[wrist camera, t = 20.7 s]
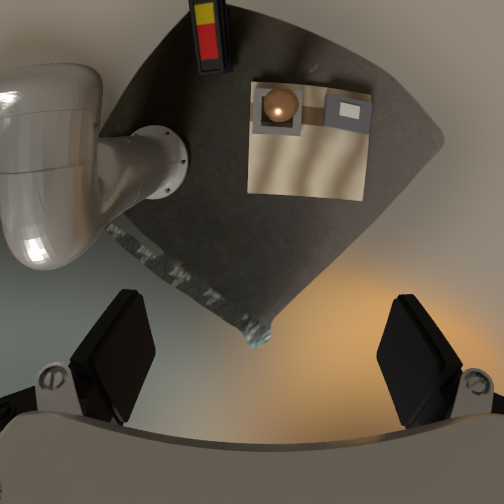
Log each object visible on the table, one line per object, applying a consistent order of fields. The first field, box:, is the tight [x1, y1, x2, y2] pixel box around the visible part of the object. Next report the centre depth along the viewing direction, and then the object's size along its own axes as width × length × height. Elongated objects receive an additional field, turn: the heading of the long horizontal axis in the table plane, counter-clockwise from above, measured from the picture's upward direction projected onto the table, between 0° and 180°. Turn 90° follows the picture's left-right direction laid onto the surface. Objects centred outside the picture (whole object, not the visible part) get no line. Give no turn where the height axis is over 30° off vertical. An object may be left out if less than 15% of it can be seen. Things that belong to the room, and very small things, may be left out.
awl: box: [264, 88, 299, 123], centre depth 33 cm, size 4×4×13 cm
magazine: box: [189, 0, 233, 76], centre depth 31 cm, size 4×13×15 cm, turn 3°
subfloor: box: [248, 82, 371, 201], centre depth 41 cm, size 19×18×1 cm
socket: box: [252, 88, 302, 136], centre depth 38 cm, size 7×7×2 cm
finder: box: [322, 94, 372, 135], centre depth 37 cm, size 7×5×3 cm
